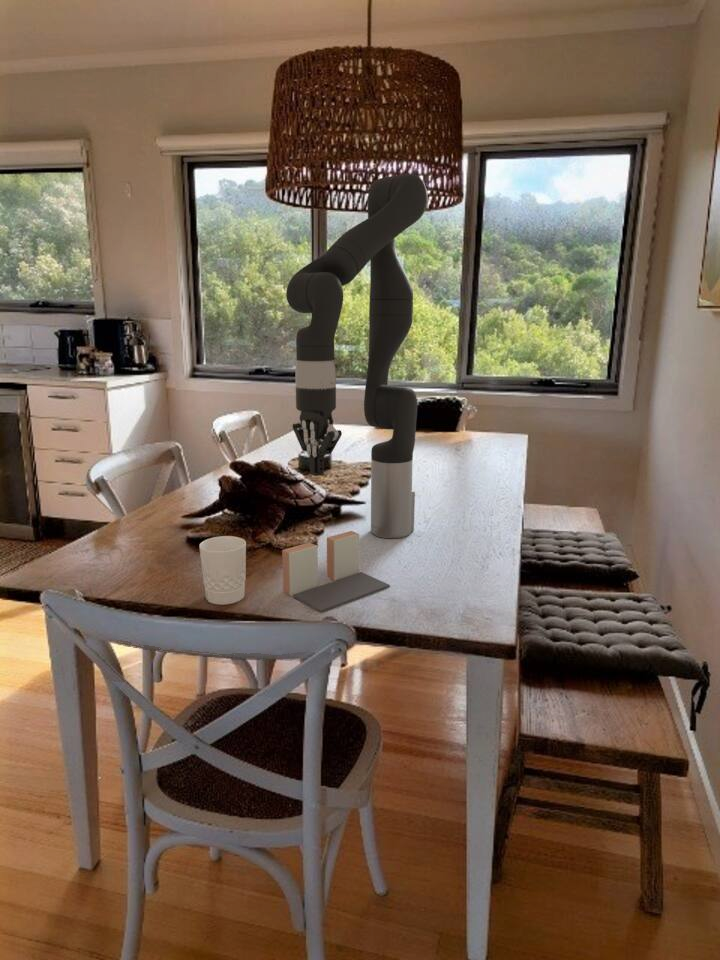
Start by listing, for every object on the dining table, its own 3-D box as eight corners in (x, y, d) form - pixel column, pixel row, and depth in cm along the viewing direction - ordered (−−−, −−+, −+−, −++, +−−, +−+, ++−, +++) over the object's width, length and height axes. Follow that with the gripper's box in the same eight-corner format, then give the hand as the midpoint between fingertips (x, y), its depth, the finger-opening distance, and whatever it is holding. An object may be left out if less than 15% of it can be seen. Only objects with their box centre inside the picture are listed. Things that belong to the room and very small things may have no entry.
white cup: (193, 599, 112) (189, 545, 109) (225, 584, 118) (223, 533, 115) (225, 610, 107) (222, 555, 105) (257, 594, 114) (255, 541, 111)
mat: (361, 573, 123) (361, 571, 123) (389, 586, 117) (389, 584, 117) (292, 596, 113) (292, 594, 112) (320, 612, 107) (320, 610, 107)
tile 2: (351, 569, 125) (351, 530, 123) (359, 573, 123) (359, 533, 121) (327, 577, 121) (326, 537, 119) (334, 581, 119) (334, 540, 117)
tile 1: (310, 582, 119) (309, 542, 117) (317, 587, 117) (317, 545, 115) (283, 591, 115) (282, 550, 113) (290, 596, 113) (290, 553, 111)
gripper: (354, 386, 117) (353, 478, 121) (310, 380, 126) (311, 465, 131) (321, 389, 112) (322, 484, 116) (279, 383, 121) (281, 471, 126)
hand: (316, 474), depth 123 cm, fingers closed
